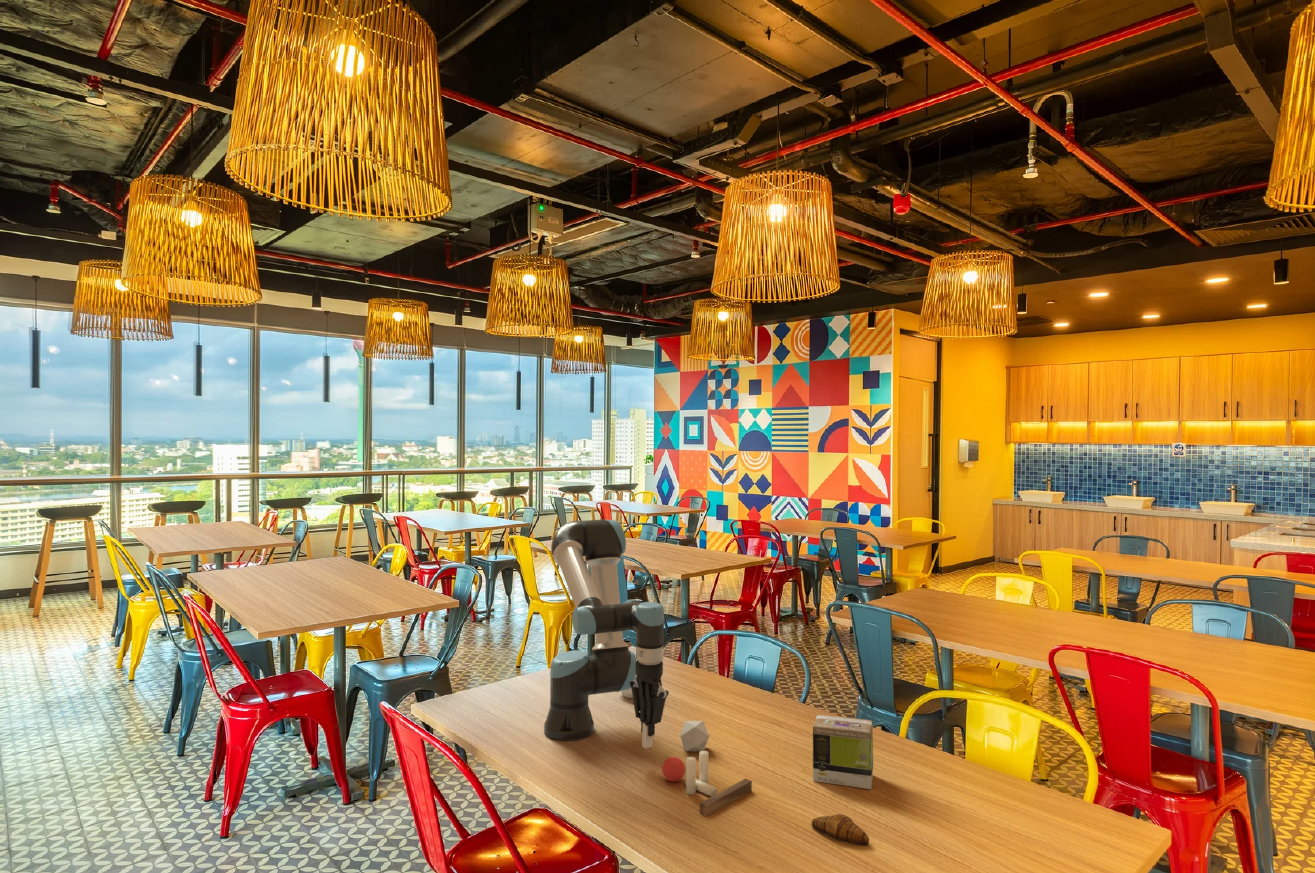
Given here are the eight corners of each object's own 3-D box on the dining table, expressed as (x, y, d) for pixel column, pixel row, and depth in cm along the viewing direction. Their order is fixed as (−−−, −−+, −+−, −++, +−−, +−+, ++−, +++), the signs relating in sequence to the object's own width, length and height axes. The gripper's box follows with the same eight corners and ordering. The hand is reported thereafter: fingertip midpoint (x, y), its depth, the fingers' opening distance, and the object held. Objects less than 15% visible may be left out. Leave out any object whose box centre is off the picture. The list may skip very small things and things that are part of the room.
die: (699, 760, 206) (716, 729, 209) (673, 743, 208) (691, 712, 211) (697, 759, 214) (714, 729, 217) (672, 742, 215) (689, 712, 218)
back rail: (699, 813, 175) (700, 802, 175) (745, 788, 188) (745, 778, 188) (706, 816, 174) (706, 805, 174) (751, 790, 187) (751, 780, 187)
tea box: (873, 774, 197) (873, 719, 197) (871, 791, 188) (871, 733, 188) (816, 765, 202) (816, 712, 202) (811, 781, 192) (812, 725, 193)
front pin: (685, 777, 189) (710, 788, 183) (691, 774, 191) (716, 785, 185) (685, 786, 189) (710, 798, 183) (691, 783, 191) (716, 794, 185)
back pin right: (684, 792, 186) (684, 758, 186) (690, 789, 188) (690, 755, 188) (691, 795, 184) (691, 761, 184) (697, 792, 186) (697, 758, 186)
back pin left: (697, 785, 190) (697, 752, 190) (703, 782, 191) (703, 749, 191) (704, 788, 188) (704, 755, 188) (710, 785, 190) (710, 752, 190)
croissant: (874, 840, 165) (874, 817, 165) (863, 853, 159) (863, 830, 159) (818, 821, 173) (818, 799, 173) (805, 833, 167) (806, 811, 167)
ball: (677, 781, 187) (664, 788, 191) (693, 771, 191) (681, 778, 195) (666, 758, 190) (654, 766, 193) (682, 749, 194) (670, 757, 197)
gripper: (622, 657, 202) (621, 742, 202) (657, 669, 193) (655, 758, 193) (642, 652, 207) (640, 734, 208) (676, 663, 198) (674, 749, 199)
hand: (647, 745), depth 201 cm, fingers closed
